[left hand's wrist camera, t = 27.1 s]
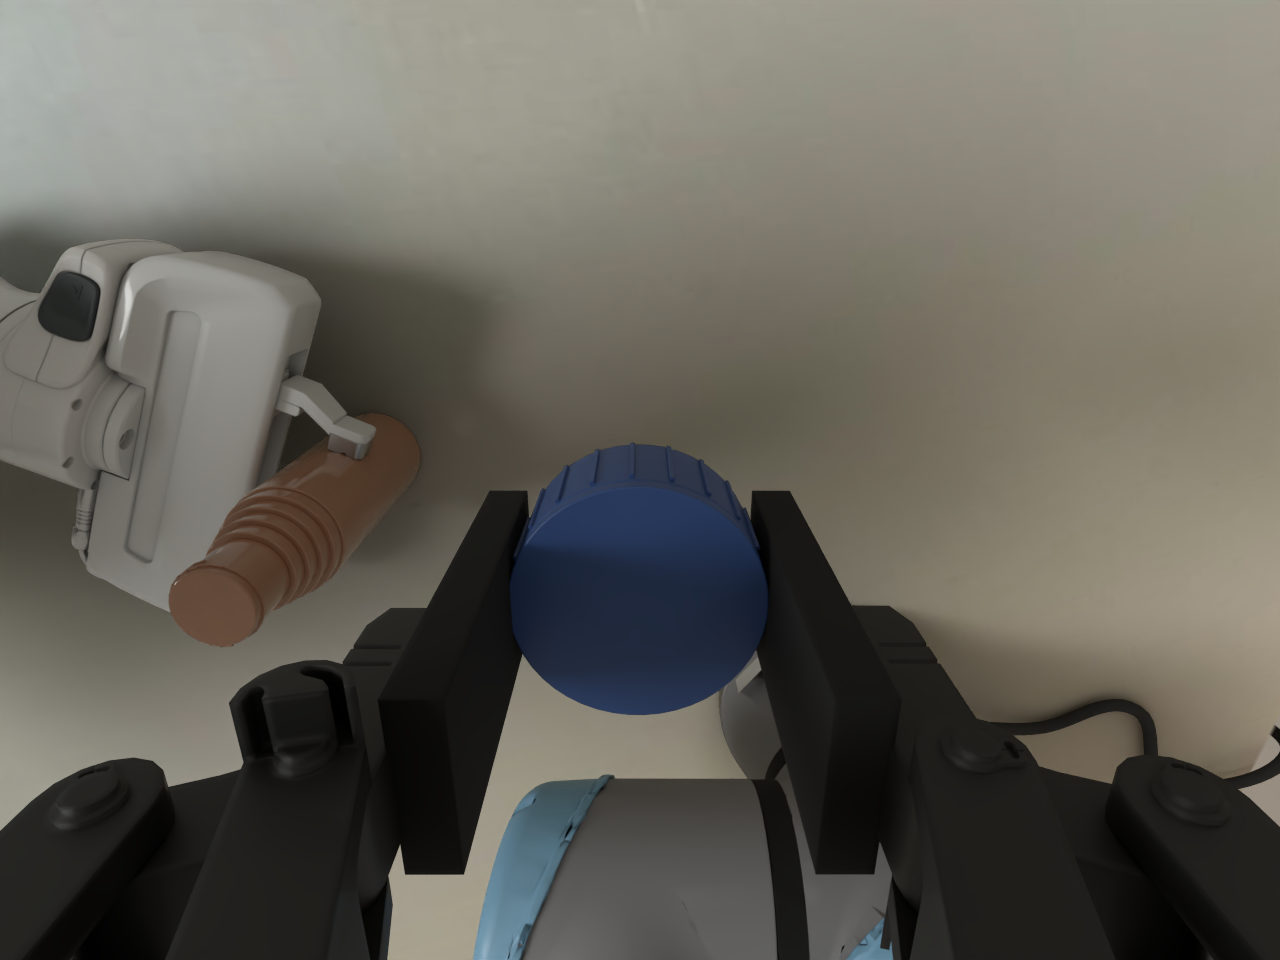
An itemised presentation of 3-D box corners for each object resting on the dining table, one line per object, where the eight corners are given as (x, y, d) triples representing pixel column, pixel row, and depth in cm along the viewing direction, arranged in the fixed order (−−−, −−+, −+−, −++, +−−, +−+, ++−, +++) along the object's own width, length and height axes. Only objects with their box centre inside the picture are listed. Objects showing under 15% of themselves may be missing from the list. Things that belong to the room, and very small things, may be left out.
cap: (606, 680, 16) (601, 756, 14) (477, 518, 14) (449, 573, 12) (792, 579, 15) (818, 643, 13) (674, 395, 13) (681, 431, 11)
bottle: (326, 416, 44) (120, 552, 26) (411, 409, 44) (261, 541, 26) (346, 496, 46) (166, 672, 28) (428, 490, 46) (298, 663, 28)
